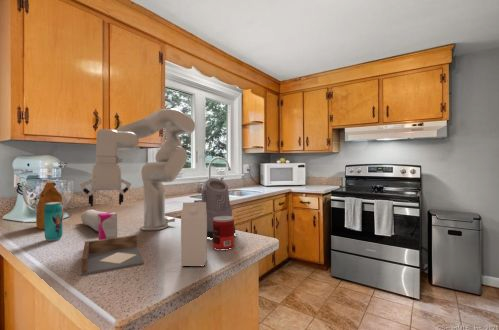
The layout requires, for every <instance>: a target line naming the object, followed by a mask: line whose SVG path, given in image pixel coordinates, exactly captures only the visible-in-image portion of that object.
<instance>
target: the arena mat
mask: <svg viewBox="0 0 499 330" xmlns="http://www.w3.org/2000/svg"><path fill="white" fill-rule="evenodd" d="M140 264H141V265H144V260H143V258H142V255H141V254H140V251H139V248H138V246H137V247H131V248H124V249H118V250H111V251H105V252H98V253H91V254H89V259H88V267H87V272H86V273H82V272H81V276H88V275H91V274H97V273H101V272H102V273H103V272H108V271H115V270H119V269H125V268H130V267H134V266H140Z"/></svg>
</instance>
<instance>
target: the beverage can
mask: <svg viewBox="0 0 499 330" xmlns="http://www.w3.org/2000/svg"><path fill="white" fill-rule="evenodd" d="M45 204H46V205H45V207H44V215H45V229H44V239H45V240H46V241H47V242H55V241H59V240H61V238H62V237H63V220H62V204H61V202H49V203H45Z"/></svg>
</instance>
